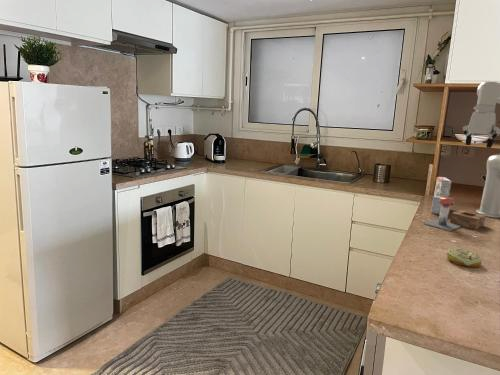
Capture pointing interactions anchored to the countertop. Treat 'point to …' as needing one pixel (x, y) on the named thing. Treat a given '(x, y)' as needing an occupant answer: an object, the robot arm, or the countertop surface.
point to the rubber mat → (448, 227)
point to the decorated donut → (464, 257)
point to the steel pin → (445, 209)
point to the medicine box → (436, 205)
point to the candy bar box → (442, 187)
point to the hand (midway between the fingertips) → (478, 146)
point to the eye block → (467, 219)
